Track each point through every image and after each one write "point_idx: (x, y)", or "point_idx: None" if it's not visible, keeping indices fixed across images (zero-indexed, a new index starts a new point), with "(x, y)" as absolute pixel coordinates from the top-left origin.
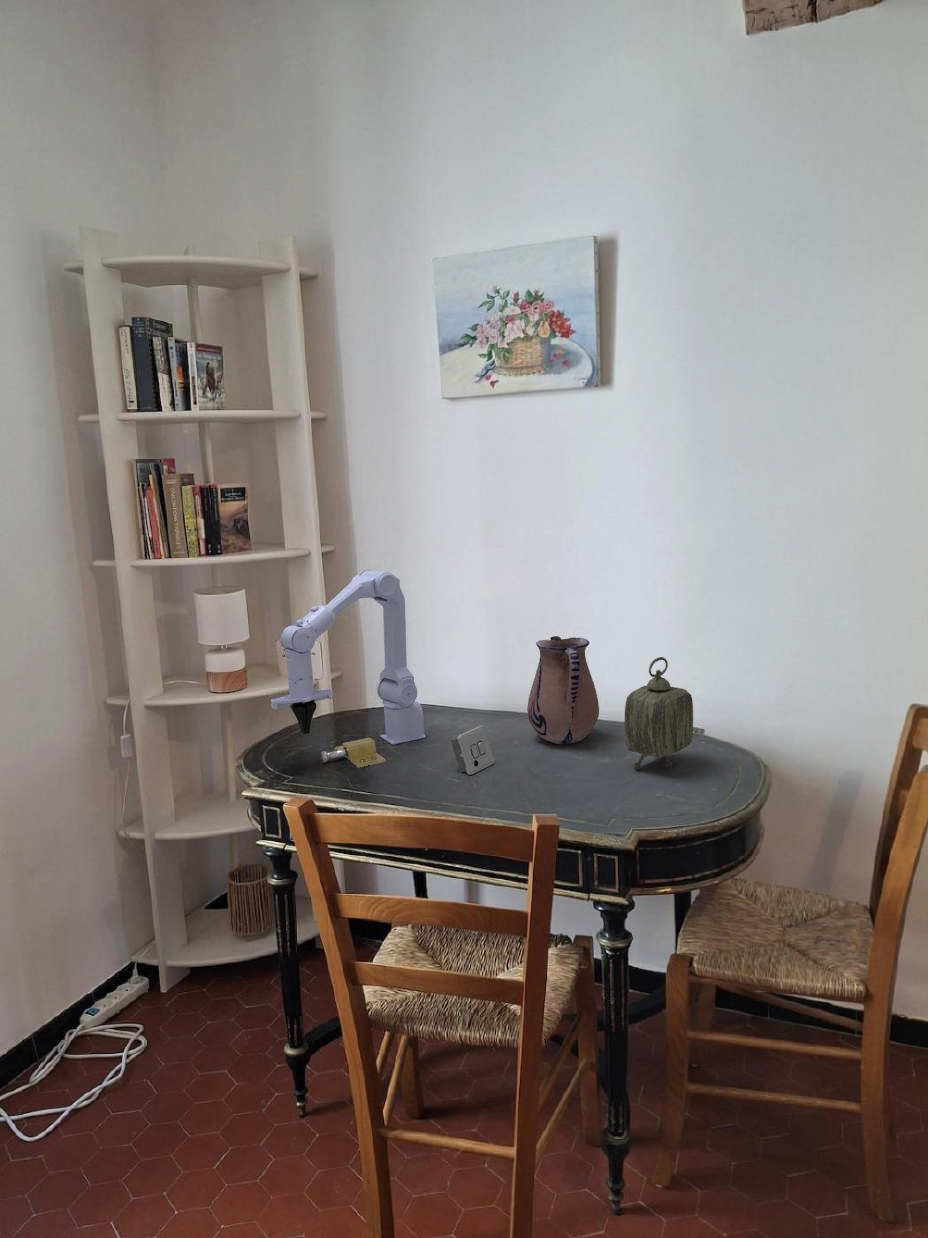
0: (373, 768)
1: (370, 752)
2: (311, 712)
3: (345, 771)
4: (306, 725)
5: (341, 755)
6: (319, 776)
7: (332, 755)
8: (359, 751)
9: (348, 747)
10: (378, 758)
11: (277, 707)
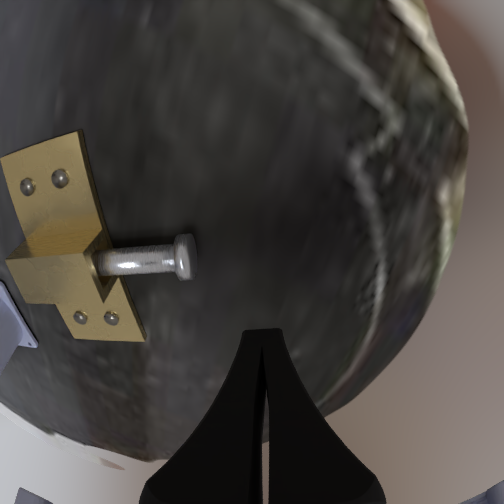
0: (40, 106)
1: (36, 239)
2: (204, 456)
3: (132, 113)
4: (259, 374)
5: (122, 248)
6: (247, 105)
7: (154, 248)
8: (59, 242)
9: (81, 252)
10: (16, 177)
11: (502, 490)
